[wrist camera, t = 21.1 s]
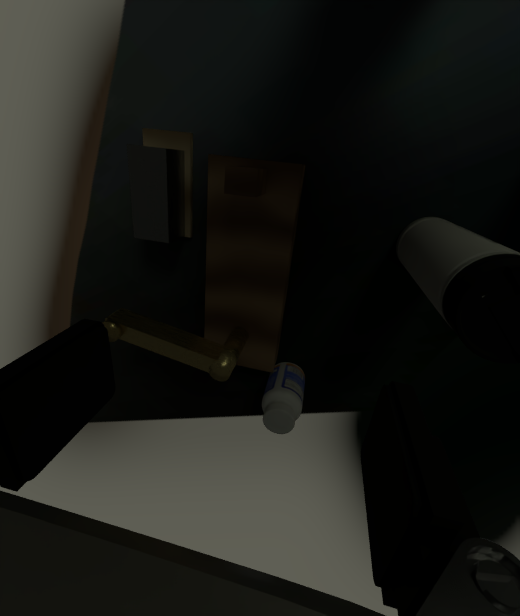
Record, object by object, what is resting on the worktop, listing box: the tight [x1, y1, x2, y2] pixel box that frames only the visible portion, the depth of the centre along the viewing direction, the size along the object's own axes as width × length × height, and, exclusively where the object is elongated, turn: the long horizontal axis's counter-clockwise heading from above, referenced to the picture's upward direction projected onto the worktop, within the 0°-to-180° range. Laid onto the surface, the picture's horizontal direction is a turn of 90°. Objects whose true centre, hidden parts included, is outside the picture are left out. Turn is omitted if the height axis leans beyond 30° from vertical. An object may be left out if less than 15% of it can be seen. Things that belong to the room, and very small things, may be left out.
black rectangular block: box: [127, 144, 185, 243], centre depth 36 cm, size 10×4×4 cm, turn 174°
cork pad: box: [142, 128, 193, 238], centre depth 38 cm, size 12×6×1 cm, turn 174°
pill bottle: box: [262, 362, 305, 434], centre depth 42 cm, size 5×5×10 cm
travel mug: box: [396, 217, 520, 364], centre depth 26 cm, size 6×7×20 cm
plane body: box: [204, 154, 306, 373], centre depth 37 cm, size 26×10×9 cm, turn 174°
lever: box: [103, 308, 249, 381], centre depth 37 cm, size 15×2×9 cm, turn 73°
